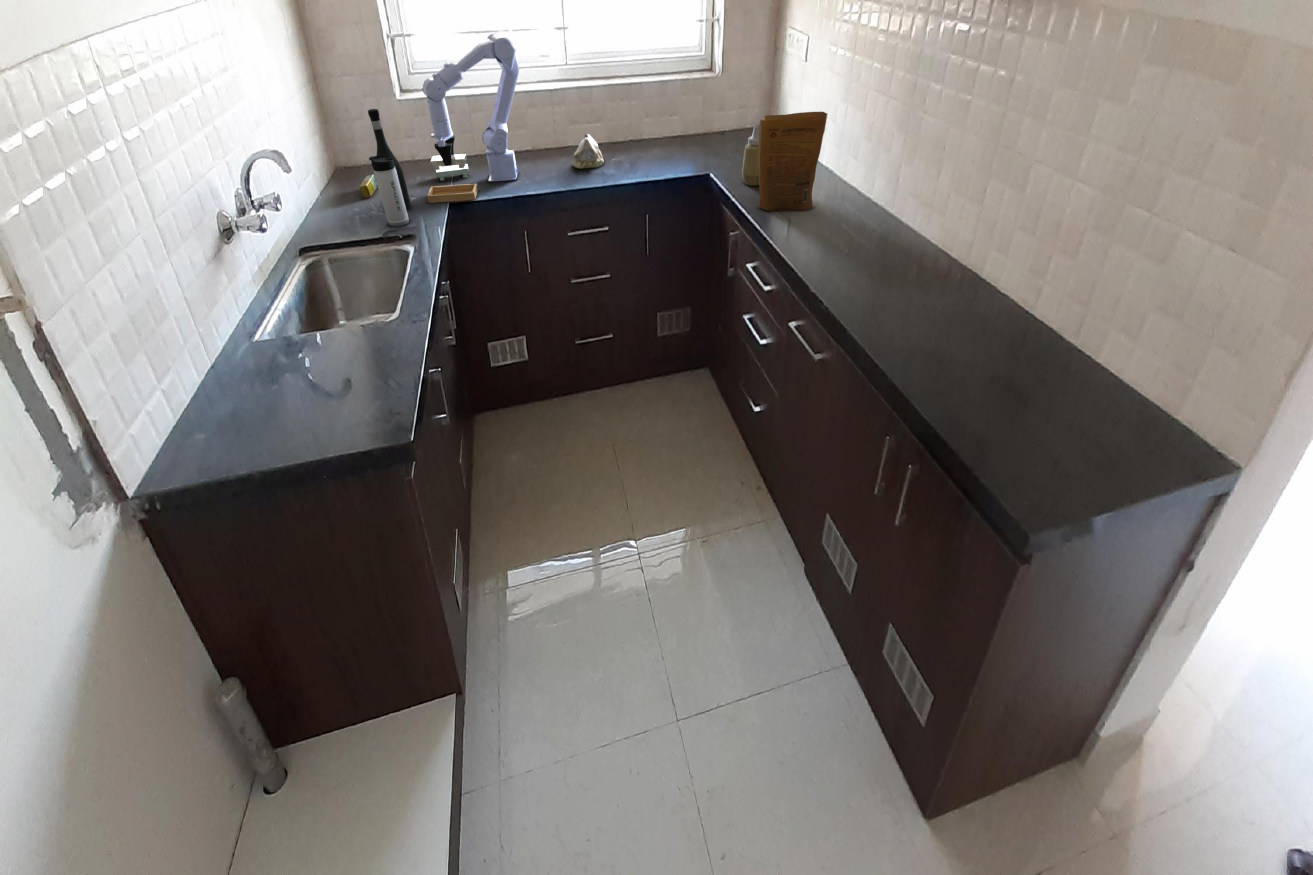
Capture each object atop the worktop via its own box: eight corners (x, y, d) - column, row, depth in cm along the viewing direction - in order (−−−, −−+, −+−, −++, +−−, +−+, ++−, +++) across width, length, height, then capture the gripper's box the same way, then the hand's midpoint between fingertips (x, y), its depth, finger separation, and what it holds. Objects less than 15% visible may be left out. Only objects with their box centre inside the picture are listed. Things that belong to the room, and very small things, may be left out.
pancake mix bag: (818, 212, 215) (829, 114, 197) (754, 213, 216) (759, 115, 199) (816, 204, 220) (826, 107, 202) (754, 205, 221) (758, 108, 204)
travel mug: (389, 219, 223) (371, 154, 210) (411, 218, 223) (394, 152, 211) (385, 227, 218) (366, 160, 205) (407, 226, 218) (389, 159, 206)
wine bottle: (388, 215, 226) (361, 115, 207) (384, 207, 231) (356, 109, 212) (414, 210, 228) (389, 110, 210) (408, 202, 234) (383, 105, 215)
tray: (477, 190, 241) (476, 183, 239) (475, 199, 234) (473, 192, 232) (432, 193, 240) (430, 186, 239) (428, 203, 233) (426, 196, 232)
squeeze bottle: (768, 180, 238) (772, 123, 227) (761, 188, 232) (764, 130, 221) (745, 178, 241) (748, 121, 230) (737, 185, 235) (739, 128, 224)
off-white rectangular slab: (467, 163, 242) (465, 154, 240) (465, 168, 238) (463, 158, 236) (435, 166, 242) (432, 156, 240) (432, 171, 238) (430, 161, 236)
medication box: (370, 186, 248) (366, 175, 245) (378, 185, 248) (374, 174, 245) (363, 198, 238) (358, 186, 236) (371, 196, 238) (366, 185, 236)
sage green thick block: (469, 173, 255) (467, 164, 253) (470, 177, 251) (468, 168, 249) (437, 176, 253) (435, 167, 251) (438, 181, 249) (436, 172, 247)
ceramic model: (602, 168, 254) (600, 139, 247) (571, 169, 254) (568, 140, 248) (605, 156, 265) (603, 127, 258) (575, 157, 265) (572, 128, 259)
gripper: (431, 114, 236) (440, 156, 245) (424, 126, 225) (434, 170, 233) (452, 113, 236) (461, 155, 245) (446, 125, 225) (455, 169, 234)
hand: (449, 162), depth 239 cm, fingers closed on off-white rectangular slab, 5 cm apart
